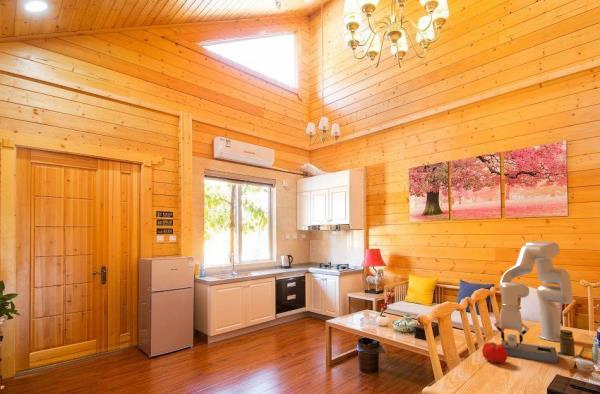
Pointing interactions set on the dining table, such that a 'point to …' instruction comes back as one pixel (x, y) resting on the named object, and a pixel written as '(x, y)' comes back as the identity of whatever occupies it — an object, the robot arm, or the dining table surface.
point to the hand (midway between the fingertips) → (512, 341)
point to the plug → (512, 340)
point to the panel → (531, 352)
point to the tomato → (494, 352)
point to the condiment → (566, 344)
